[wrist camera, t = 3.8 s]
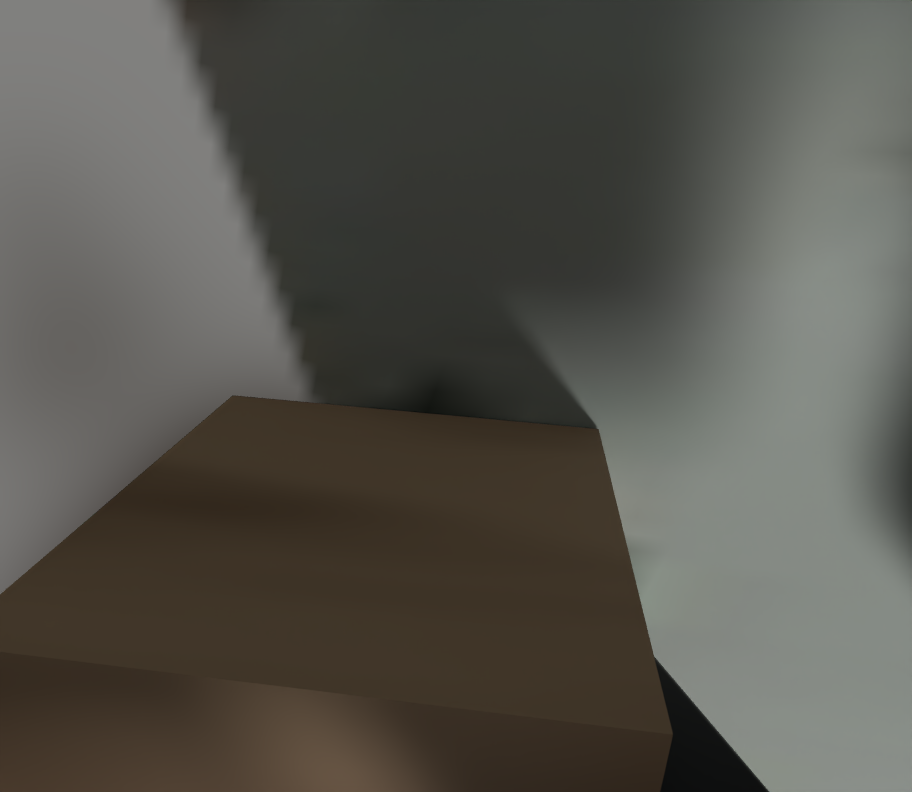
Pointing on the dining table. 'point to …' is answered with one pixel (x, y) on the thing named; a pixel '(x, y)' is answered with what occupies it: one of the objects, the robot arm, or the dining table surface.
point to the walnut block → (339, 617)
